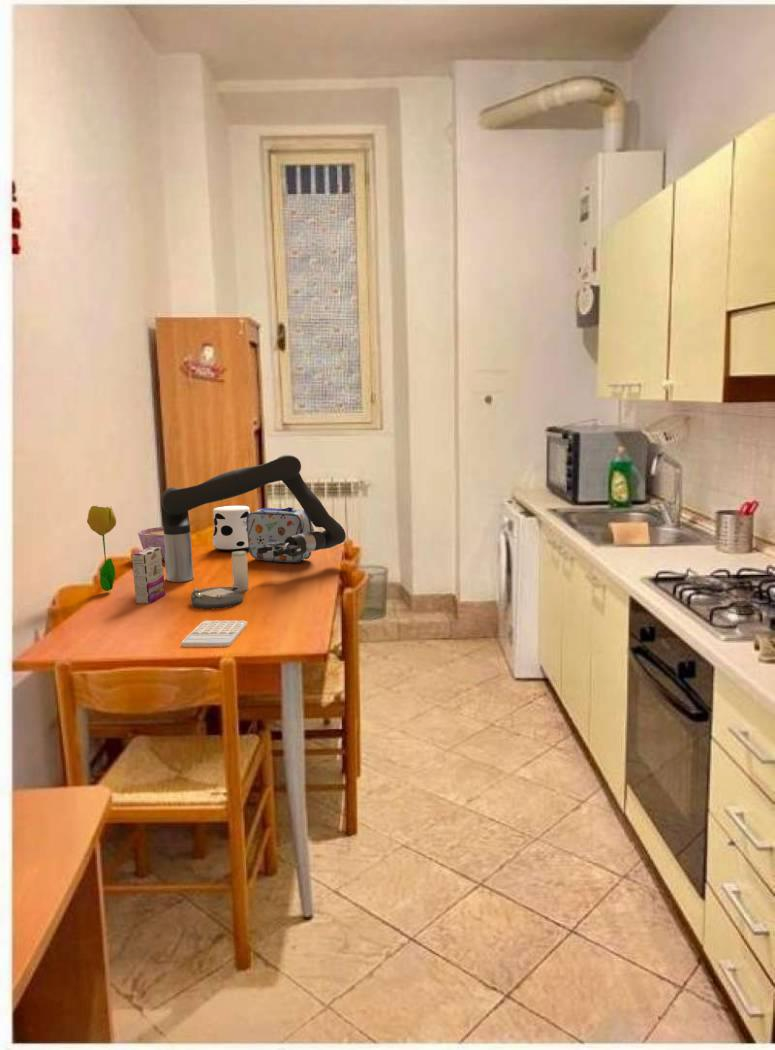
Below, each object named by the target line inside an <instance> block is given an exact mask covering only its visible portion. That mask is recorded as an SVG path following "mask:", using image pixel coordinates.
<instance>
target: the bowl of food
mask: <svg viewBox="0 0 775 1050" xmlns="http://www.w3.org/2000/svg"><path fill="white" fill-rule="evenodd" d="M137 535H138V538H139V541H140V544H141V547H142V550H143V549H146V548H148V547H161V552H162V559H165V556H164V554H165V541H164V530H163V526H160V527H152V528H151V527H150V528H145V529H141V530H139V531H138V532H137Z"/></svg>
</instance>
